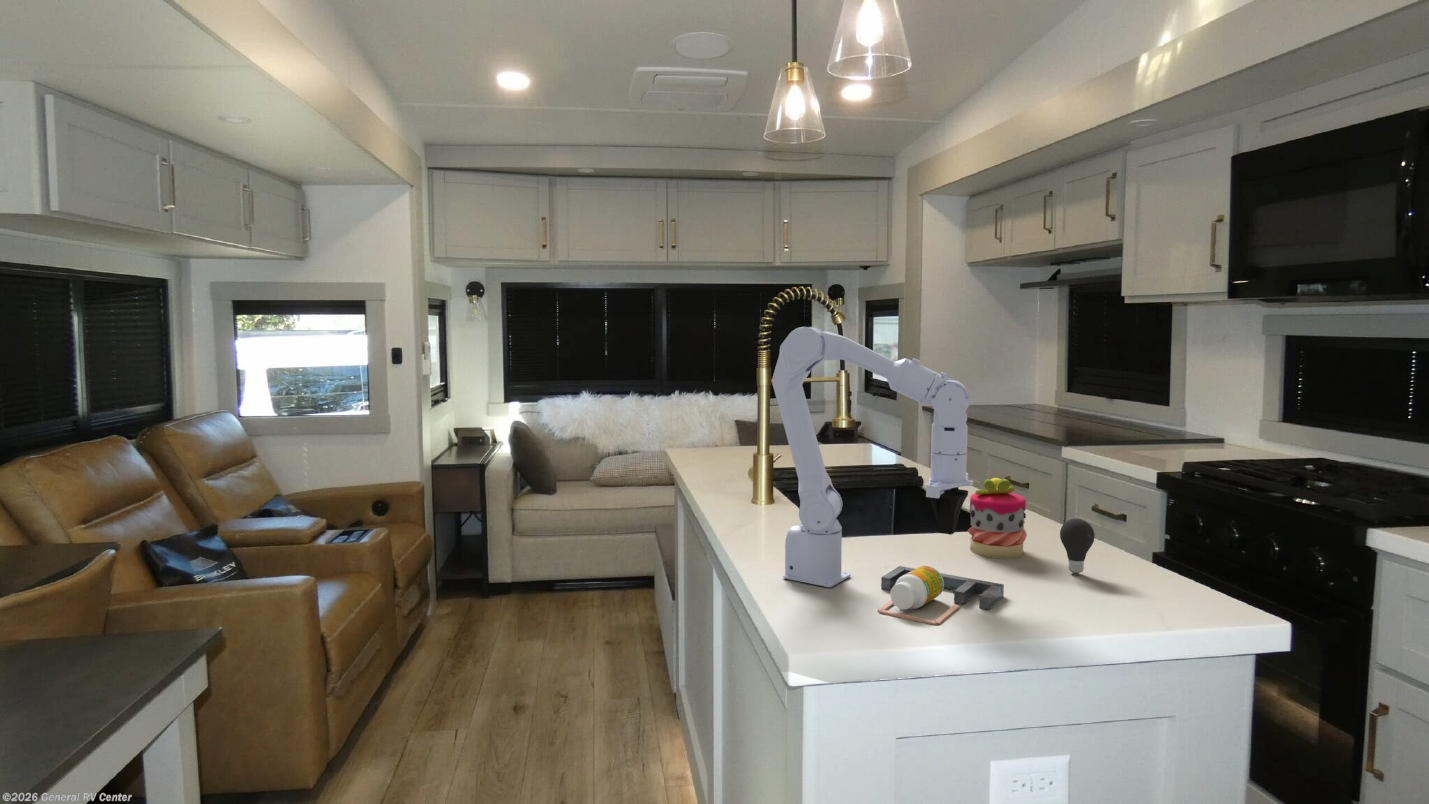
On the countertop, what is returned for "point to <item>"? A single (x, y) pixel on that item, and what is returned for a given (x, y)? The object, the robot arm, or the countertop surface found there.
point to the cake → (997, 520)
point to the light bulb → (1076, 542)
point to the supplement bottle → (917, 588)
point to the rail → (956, 587)
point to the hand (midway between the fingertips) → (946, 533)
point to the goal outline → (937, 621)
